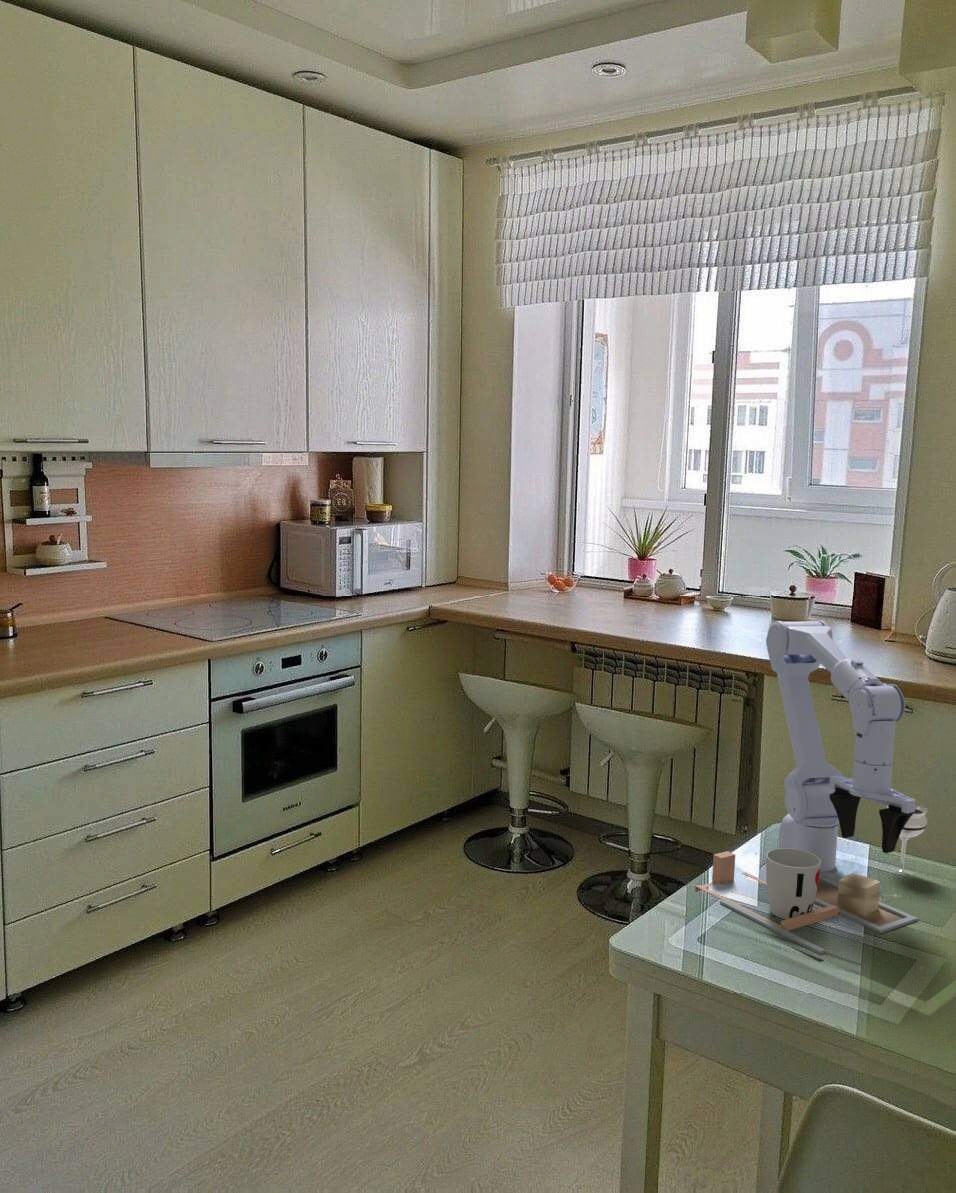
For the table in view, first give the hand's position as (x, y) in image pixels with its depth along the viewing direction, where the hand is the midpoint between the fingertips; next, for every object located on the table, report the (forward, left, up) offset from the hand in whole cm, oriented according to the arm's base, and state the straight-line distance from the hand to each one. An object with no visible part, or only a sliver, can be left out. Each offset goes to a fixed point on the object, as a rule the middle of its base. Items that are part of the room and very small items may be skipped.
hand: (867, 844), depth 164 cm
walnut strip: (-1, -4, -10) cm, 11 cm away
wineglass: (-5, +17, -11) cm, 21 cm away
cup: (-3, -14, -11) cm, 18 cm away
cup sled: (-8, -14, -10) cm, 20 cm away
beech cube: (+2, -4, -9) cm, 10 cm away
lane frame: (-1, -10, -10) cm, 15 cm away
